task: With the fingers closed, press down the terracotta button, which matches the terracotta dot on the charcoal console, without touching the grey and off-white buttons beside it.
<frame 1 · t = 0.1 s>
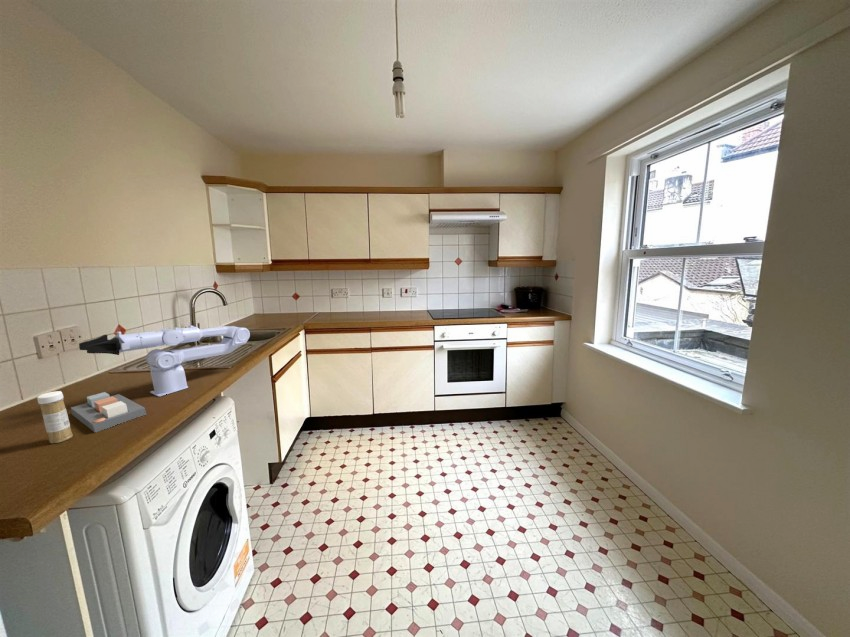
hand: (83, 348, 104), 22 cm above the countertop, tool horizontal, fingers open, 7 cm apart
off-white button: (115, 410, 101), point 3 cm above the countertop, slide at 0.0 cm
console: (109, 415, 106), on the countertop
spice jar: (61, 440, 92), on the countertop
grey button: (99, 400, 109), point 3 cm above the countertop, slide at 0.0 cm
terracotta button: (106, 405, 105), point 3 cm above the countertop, slide at 0.0 cm
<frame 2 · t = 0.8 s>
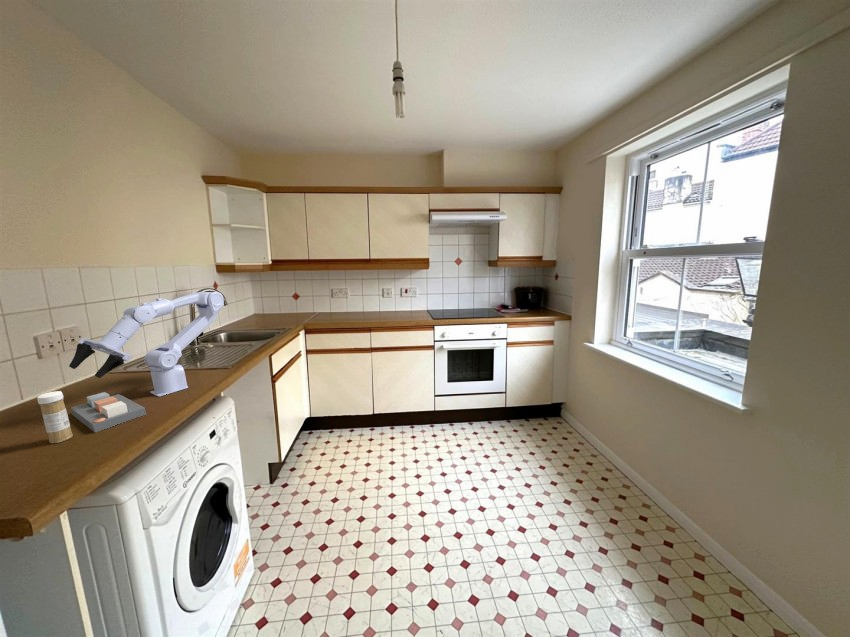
hand: (84, 372, 102), 15 cm above the countertop, tool tilted 50°, fingers open, 7 cm apart
nothing on the countertop moved.
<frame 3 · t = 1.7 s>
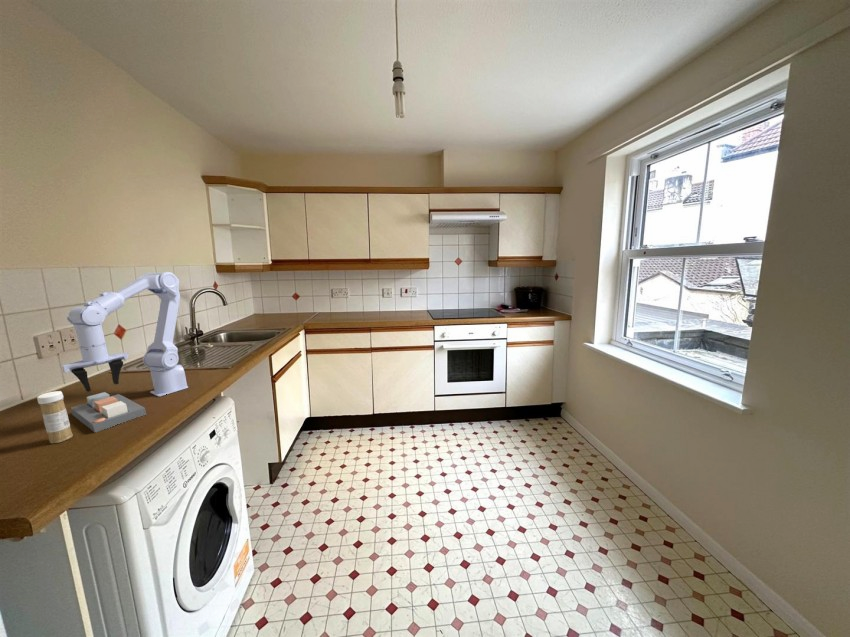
hand: (102, 387, 104), 9 cm above the countertop, tool pointing down, fingers open, 6 cm apart
nothing on the countertop moved.
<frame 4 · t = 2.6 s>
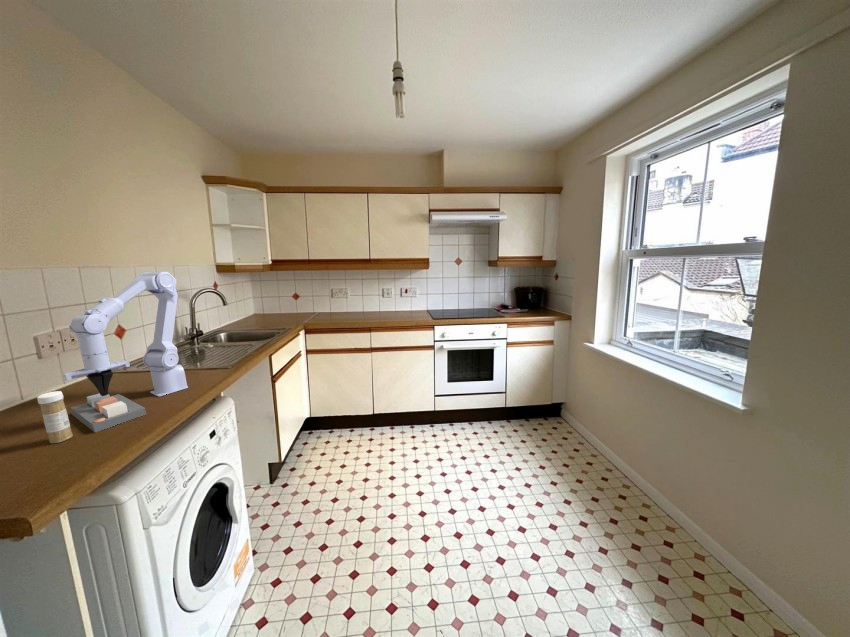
hand: (104, 394, 105), 7 cm above the countertop, tool pointing down, fingers closed
nothing on the countertop moved.
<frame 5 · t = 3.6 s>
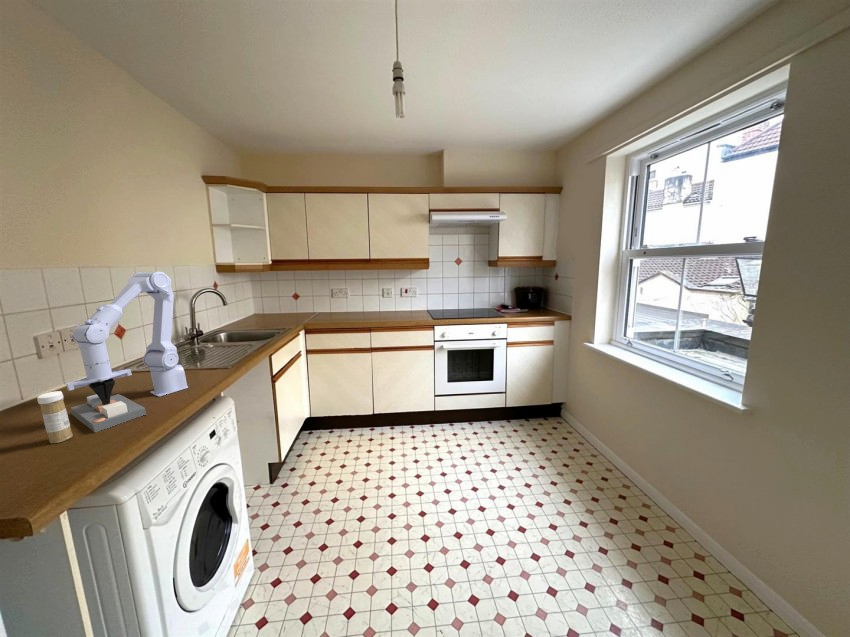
hand: (106, 403, 105), 4 cm above the countertop, tool pointing down, fingers closed, pressing on terracotta button
terracotta button: (107, 408, 106), point 2 cm above the countertop, slide at 1.1 cm, touching gripper
everything else where it was.
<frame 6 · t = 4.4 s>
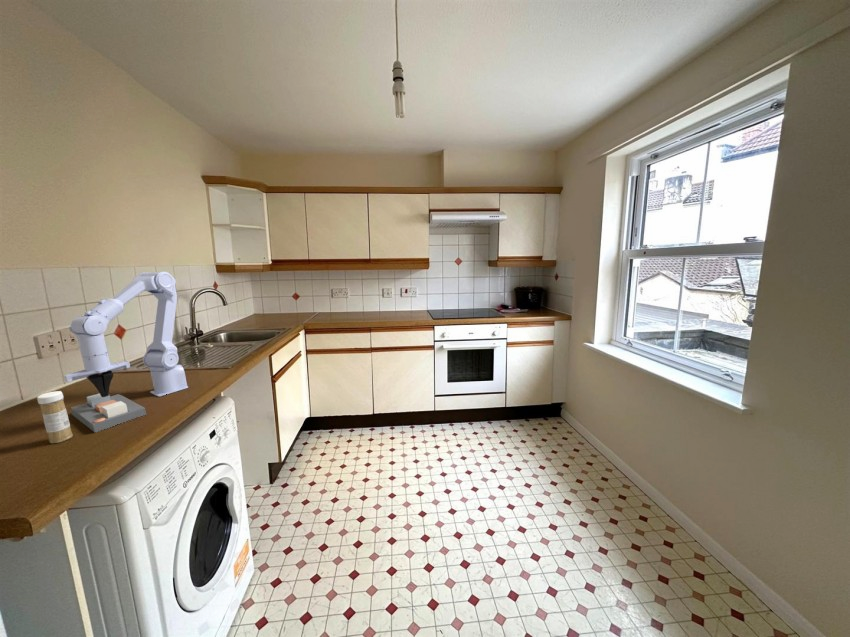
hand: (104, 396, 105), 6 cm above the countertop, tool pointing down, fingers closed
terracotta button: (107, 408, 106), point 2 cm above the countertop, slide at 1.1 cm
everything else where it was.
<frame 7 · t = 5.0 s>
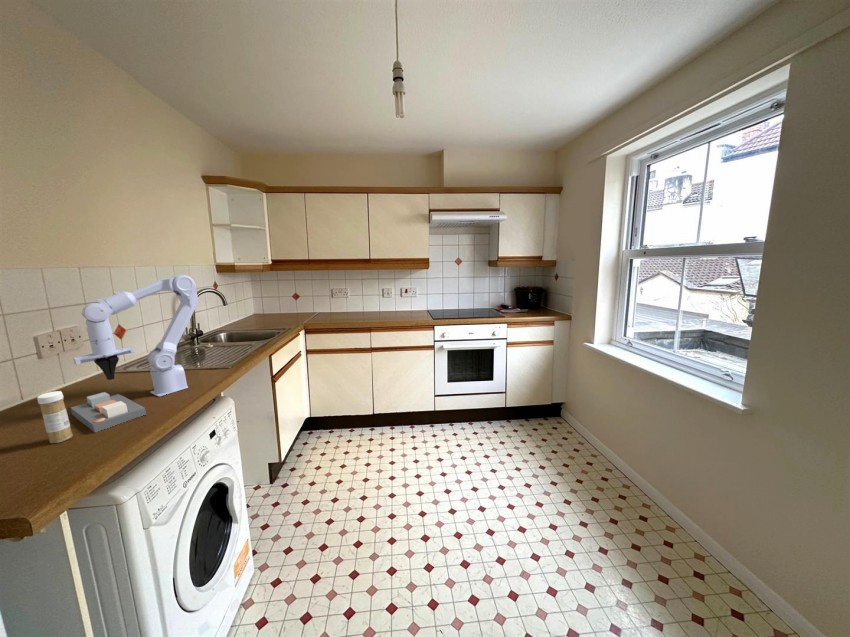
hand: (110, 378, 112), 9 cm above the countertop, tool pointing down, fingers closed
nothing on the countertop moved.
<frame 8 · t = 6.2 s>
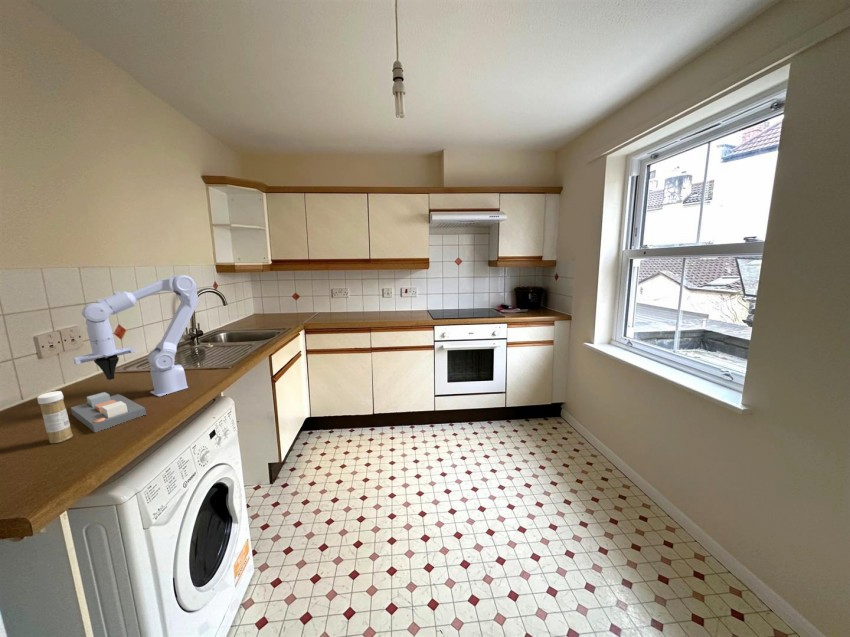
hand: (110, 378, 112), 9 cm above the countertop, tool pointing down, fingers closed
nothing on the countertop moved.
at the end: terracotta button slide at 1.1 cm; grey button slide at 0.0 cm; off-white button slide at 0.0 cm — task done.
